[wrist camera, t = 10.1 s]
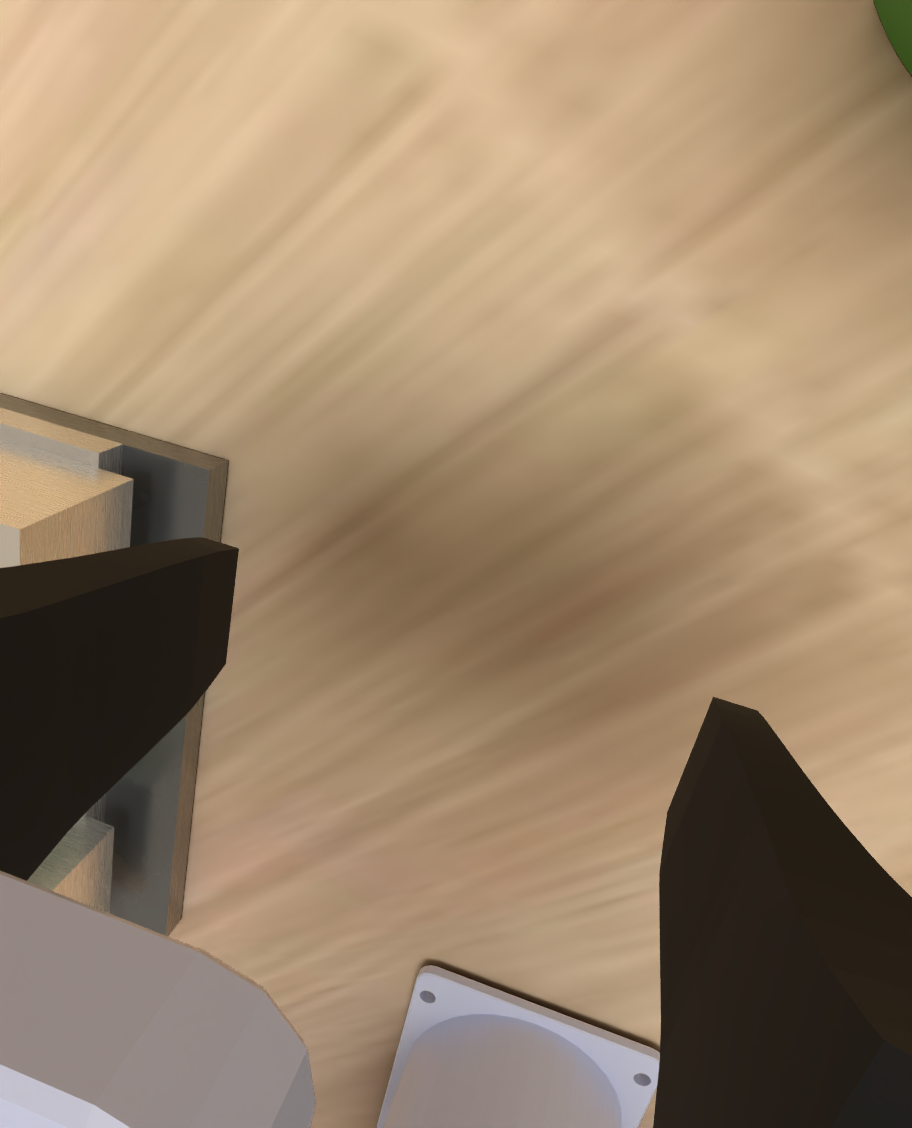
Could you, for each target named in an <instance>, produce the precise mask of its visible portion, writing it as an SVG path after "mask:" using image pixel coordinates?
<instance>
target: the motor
mask: <svg viewBox="0 0 912 1128" xmlns="http://www.w3.org/2000/svg"><path fill="white" fill-rule="evenodd" d="M873 1H874V3H875V6H876V9H877V12H878V15H879V18H880V21H881V23H882V25H883V27H884V30H885V32H886V34H887V37H888V39H889V40H890V42H891V44H892V46H893V48H894V50H895V52H896V53H897V55H898V57H899V58H900V60H901V61H902V63H903V64H904V66H905V67H906V69H907V70H908V72H909V73H910V74H911V76H912V0H873Z"/></svg>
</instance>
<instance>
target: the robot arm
mask: <svg viewBox="0 0 912 1128" xmlns="http://www.w3.org/2000/svg"><path fill="white" fill-rule="evenodd" d="M238 551H239V548H235V547H232V546H229V545H226V544H223V543H219V542H216V541H213V540H210V539H207V538H203V537H196V538H182V539H175V540H168V541H161V542H156V543H150V544H144V545H139V546H133V547H128V548H122V549H117V550H111V551H106V552H100V553H95V554H89V555H84V556H78V557H72V558H65V559H59V560H52V561H45V562H39V563H32V564H26V565H19V566H12V567H4V568H0V1128H310V1127H311V1122H312V1117H313V1113H314V1108H315V1104H316V1103H315V1096H314V1090H313V1083H312V1076H311V1069H310V1062H309V1056H308V1049H307V1047H306V1045H305V1044H304V1042H303V1040H302V1038H301V1036H300V1035H299V1034H298V1032H297V1031H296V1030H295V1028H294V1027H293V1026H292V1024H291V1023H290V1022H289V1020H288V1019H287V1018H286V1017H285V1015H284V1014H283V1013H282V1011H281V1010H280V1009H279V1007H278V1006H277V1005H276V1003H275V1002H274V1001H273V999H272V998H271V997H270V996H269V994H268V993H267V992H266V990H265V989H264V988H263V987H262V986H261V985H259V984H257V983H256V982H254V981H253V980H251V979H249V978H248V977H246V976H245V975H243V974H241V973H240V972H238V971H236V970H235V969H233V968H232V967H230V966H228V965H227V964H225V963H223V962H222V961H220V960H219V959H217V958H215V957H214V956H212V955H211V954H209V953H207V952H206V951H204V950H201V949H199V948H196V947H193V946H191V945H188V944H186V943H183V942H181V941H178V940H176V939H173V938H171V937H168V936H165V935H163V934H160V933H158V932H155V931H153V930H150V929H148V928H145V927H142V926H140V925H137V924H135V923H132V922H130V921H127V920H125V919H122V918H120V917H117V916H114V915H112V914H109V913H107V912H104V911H102V910H99V909H97V908H94V907H92V906H89V905H86V904H84V903H81V902H79V901H76V900H74V899H71V898H69V897H66V896H64V895H61V894H58V893H56V892H53V891H51V890H48V889H46V888H43V887H41V886H38V885H36V884H33V883H30V882H28V881H27V880H28V879H29V878H30V877H31V875H32V874H33V873H34V872H35V871H36V869H37V868H38V867H39V866H40V865H41V863H42V862H43V861H44V860H45V859H46V857H47V856H48V855H49V854H50V853H51V851H52V850H53V849H54V848H55V847H56V845H57V844H58V843H59V842H60V841H61V839H62V838H63V837H64V836H65V835H66V833H67V832H68V831H69V830H70V829H71V828H72V827H73V826H74V825H75V824H76V823H77V822H78V821H79V820H80V818H81V817H82V816H83V815H84V814H85V813H86V812H87V811H88V810H89V809H90V808H91V807H92V806H93V805H94V804H95V803H96V802H97V801H98V800H99V799H100V798H101V797H102V796H103V795H104V794H106V793H107V792H108V791H109V790H110V789H111V788H112V787H113V786H114V785H115V784H116V783H117V782H118V781H119V780H120V779H121V778H122V777H123V776H124V775H125V774H126V773H127V772H128V771H129V770H130V769H131V768H132V767H134V766H135V765H136V764H137V763H138V762H139V761H140V760H141V759H142V758H143V757H144V756H145V755H146V754H147V753H148V752H149V751H150V750H151V749H152V748H153V747H154V746H155V745H156V744H157V743H158V742H159V741H160V740H161V739H162V738H163V737H164V736H165V735H166V734H168V733H169V732H170V731H171V730H172V729H173V728H174V727H175V726H176V725H177V724H178V723H179V722H180V721H181V720H182V719H183V718H184V717H185V716H186V715H187V714H188V713H189V712H190V710H191V709H192V708H193V707H194V705H195V704H196V703H197V702H198V700H199V699H200V698H201V696H202V695H203V694H204V693H205V691H206V690H207V689H208V687H209V686H210V685H211V683H212V682H213V681H214V679H215V678H216V676H217V675H218V674H219V672H220V671H221V670H222V668H223V667H224V665H225V664H226V657H227V648H228V639H229V630H230V621H231V613H232V604H233V595H234V586H235V577H236V569H237V560H238ZM659 893H660V978H661V1041H660V1053H659V1052H658V1051H657V1050H655V1049H653V1048H651V1047H648V1046H646V1045H643V1044H640V1043H638V1042H635V1041H632V1040H630V1039H627V1038H624V1037H622V1036H619V1035H617V1034H614V1033H611V1032H609V1031H606V1030H603V1029H601V1028H598V1027H595V1026H593V1025H590V1024H587V1023H585V1022H582V1021H580V1020H577V1019H574V1018H572V1017H569V1016H566V1015H564V1014H561V1013H558V1012H556V1011H553V1010H551V1009H548V1008H545V1007H543V1006H540V1005H537V1004H535V1003H532V1002H529V1001H527V1000H524V999H521V998H519V997H516V996H514V995H511V994H508V993H506V992H503V991H500V990H498V989H495V988H492V987H490V986H487V985H485V984H482V983H479V982H477V981H474V980H471V979H469V978H466V977H463V976H461V975H458V974H455V973H453V972H450V971H448V970H445V969H442V968H440V967H437V966H433V965H429V966H424V967H422V968H421V969H420V971H419V973H418V976H417V979H416V982H415V986H414V990H413V994H412V997H411V1001H410V1005H409V1008H408V1012H407V1016H406V1019H405V1023H404V1027H403V1030H402V1034H401V1038H400V1042H399V1045H398V1049H397V1053H396V1056H395V1060H394V1064H393V1067H392V1071H391V1075H390V1079H389V1082H388V1086H387V1090H386V1093H385V1097H384V1101H383V1104H382V1108H381V1112H380V1115H379V1119H378V1123H377V1127H376V1128H638V1126H639V1124H640V1122H641V1120H642V1118H643V1116H644V1113H645V1111H646V1109H647V1107H648V1105H649V1103H650V1101H651V1099H652V1097H653V1094H654V1092H655V1090H656V1088H657V1094H656V1104H655V1115H654V1126H653V1128H912V897H911V896H910V895H909V894H908V893H907V892H906V891H905V890H904V889H903V888H902V887H901V886H900V885H899V884H898V883H897V882H896V881H895V880H894V879H893V878H892V877H891V876H890V875H889V874H888V873H887V872H886V871H885V870H884V869H883V868H882V867H881V866H880V865H879V864H878V863H877V861H876V860H875V859H874V858H873V857H872V856H871V855H870V854H869V852H868V851H867V850H866V849H865V848H864V847H863V845H862V844H861V843H860V842H859V841H858V840H857V839H856V837H855V836H854V835H853V834H852V833H851V832H850V830H849V829H848V828H847V827H846V826H845V825H844V823H843V822H842V821H841V820H840V818H839V817H838V816H837V815H836V813H835V812H834V811H833V810H832V809H831V807H830V806H829V805H828V804H827V802H826V801H825V800H824V798H823V797H822V796H821V795H820V793H819V792H818V791H817V789H816V788H815V787H814V785H813V784H812V783H811V781H810V780H809V779H808V777H807V776H806V775H805V773H804V772H803V771H802V769H801V768H800V767H799V765H798V764H797V762H796V761H795V760H794V758H793V757H792V756H791V754H790V753H789V751H788V750H787V749H786V747H785V746H784V744H783V743H782V742H781V740H780V739H779V738H778V736H777V735H776V733H775V732H774V731H773V729H772V728H771V727H770V725H769V724H768V723H767V721H766V720H765V719H764V717H763V716H762V715H761V714H760V713H759V712H758V711H757V710H754V709H750V708H747V707H744V706H741V705H738V704H734V703H731V702H728V701H725V700H722V699H718V698H715V697H713V699H712V702H711V704H710V707H709V709H708V712H707V714H706V717H705V719H704V722H703V724H702V727H701V729H700V732H699V734H698V737H697V739H696V742H695V744H694V747H693V749H692V752H691V754H690V757H689V759H688V762H687V764H686V767H685V769H684V772H683V774H682V777H681V779H680V782H679V784H678V787H677V789H676V792H675V794H674V797H673V799H672V802H671V805H670V807H669V810H668V812H667V819H666V826H665V834H664V841H663V849H662V857H661V866H660V881H659ZM428 991H430V992H431V993H429V992H428ZM640 1073H642V1074H640Z"/></svg>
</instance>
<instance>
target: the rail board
mask: <svg viewBox="0 0 912 1128" xmlns="http://www.w3.org/2000/svg"><path fill="white" fill-rule="evenodd" d="M227 470H228V460H225V459H221V458H218V457H215V456H211V455H208V454H204V453H201V452H198V451H194V450H191V449H188V448H184V447H181V446H177V445H174V444H171V443H167V442H164V441H161V440H157V439H154V438H150V437H147V436H144V435H140V434H137V433H134V432H130V431H127V430H123V429H120V428H117V427H113V426H110V425H107V424H103V423H100V422H96V421H93V420H90V419H86V418H83V417H80V416H76V415H73V414H69V413H66V412H63V411H59V410H56V409H53V408H49V407H46V406H42V405H39V404H36V403H32V402H29V401H26V400H22V399H19V398H15V397H12V396H9V395H5V394H2V393H0V568H4V567H12V566H19V565H26V564H32V563H39V562H45V561H52V560H59V559H65V558H72V557H78V556H84V555H89V554H95V553H100V552H106V551H111V550H117V549H122V548H128V547H133V546H139V545H144V544H150V543H156V542H161V541H168V540H175V539H182V538H196V537H203V538H207V539H210V540H213V541H216V542H219V543H220V538H221V529H222V519H223V509H224V499H225V490H226V480H227ZM203 703H204V694H203V695H202V696H201V698H200V699H199V700H198V702H197V703H196V704H195V705H194V707H193V708H192V709H191V710H190V712H189V713H188V714H187V715H186V716H185V717H184V718H183V719H182V720H181V721H180V722H179V723H178V724H177V725H176V726H175V727H174V728H173V729H172V730H171V731H170V732H169V733H168V734H166V735H165V736H164V737H163V738H162V739H161V740H160V741H159V742H158V743H157V744H156V745H155V746H154V747H153V748H152V749H151V750H150V751H149V752H148V753H147V754H146V755H145V756H144V757H143V758H142V759H141V760H140V761H139V762H138V763H137V764H136V765H135V766H134V767H132V768H131V769H130V770H129V771H128V772H127V773H126V774H125V775H124V776H123V777H122V778H121V779H120V780H119V781H118V782H117V783H116V784H115V785H114V786H113V787H112V788H111V789H110V790H109V791H108V792H107V793H106V794H104V795H103V796H102V797H101V798H100V799H99V800H98V801H97V802H96V803H95V804H94V805H93V806H92V807H91V808H90V809H89V810H88V811H87V812H86V813H85V814H84V815H83V816H82V817H81V818H80V820H79V821H78V822H77V823H76V824H75V825H74V826H73V827H72V828H71V829H70V830H69V831H68V832H67V833H66V835H65V836H64V837H63V838H62V839H61V841H60V842H59V843H58V844H57V845H56V847H55V848H54V849H53V850H52V851H51V853H50V854H49V855H48V856H47V857H46V859H45V860H44V861H43V862H42V863H41V865H40V866H39V867H38V868H37V869H36V871H35V872H34V873H33V874H32V875H31V877H30V878H29V879H28V880H27V881H28V882H30V883H33V884H36V885H38V886H41V887H43V888H46V889H48V890H51V891H53V892H56V893H58V894H61V895H64V896H66V897H69V898H71V899H74V900H76V901H79V902H81V903H84V904H86V905H89V906H92V907H94V908H97V909H99V910H102V911H104V912H107V913H109V914H112V915H114V916H117V917H120V918H122V919H125V920H127V921H130V922H132V923H135V924H137V925H140V926H142V927H145V928H148V929H150V930H153V931H155V932H158V933H160V934H163V935H165V936H169V935H170V933H171V932H172V931H173V929H174V928H175V927H176V925H177V924H178V922H179V921H180V920H181V916H182V906H183V897H184V887H185V877H186V868H187V858H188V848H189V838H190V829H191V819H192V809H193V800H194V790H195V780H196V771H197V761H198V751H199V742H200V732H201V722H202V713H203Z"/></svg>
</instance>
